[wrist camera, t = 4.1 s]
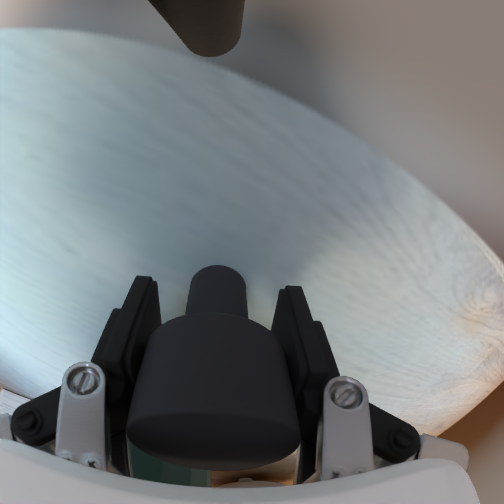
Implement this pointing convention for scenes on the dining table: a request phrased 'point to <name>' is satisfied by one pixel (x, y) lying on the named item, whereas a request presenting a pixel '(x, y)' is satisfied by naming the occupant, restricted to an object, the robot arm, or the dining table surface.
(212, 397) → the stopper
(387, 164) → the dining table surface
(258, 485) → the dish
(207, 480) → the bottle
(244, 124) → the dining table surface
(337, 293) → the dining table surface
